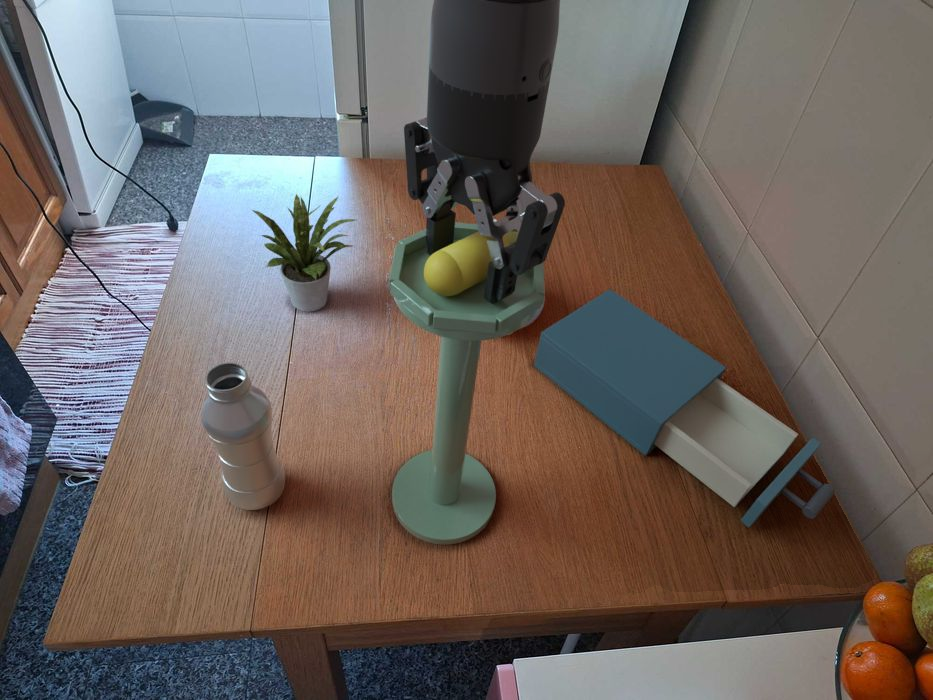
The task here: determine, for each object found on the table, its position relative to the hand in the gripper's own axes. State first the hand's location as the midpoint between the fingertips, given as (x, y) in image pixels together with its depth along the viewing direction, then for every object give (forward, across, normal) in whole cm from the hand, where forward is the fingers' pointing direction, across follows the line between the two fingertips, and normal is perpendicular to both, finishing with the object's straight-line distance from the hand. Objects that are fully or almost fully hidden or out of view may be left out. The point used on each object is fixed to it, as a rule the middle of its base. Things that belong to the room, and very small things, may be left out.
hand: (467, 274), depth 51 cm
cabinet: (+34, +2, +31) cm, 46 cm away
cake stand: (+34, 0, 0) cm, 34 cm away
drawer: (+33, +19, +31) cm, 49 cm away
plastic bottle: (+34, -14, -16) cm, 40 cm away
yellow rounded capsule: (-1, 0, 0) cm, 1 cm away
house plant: (+34, -37, +7) cm, 51 cm away
